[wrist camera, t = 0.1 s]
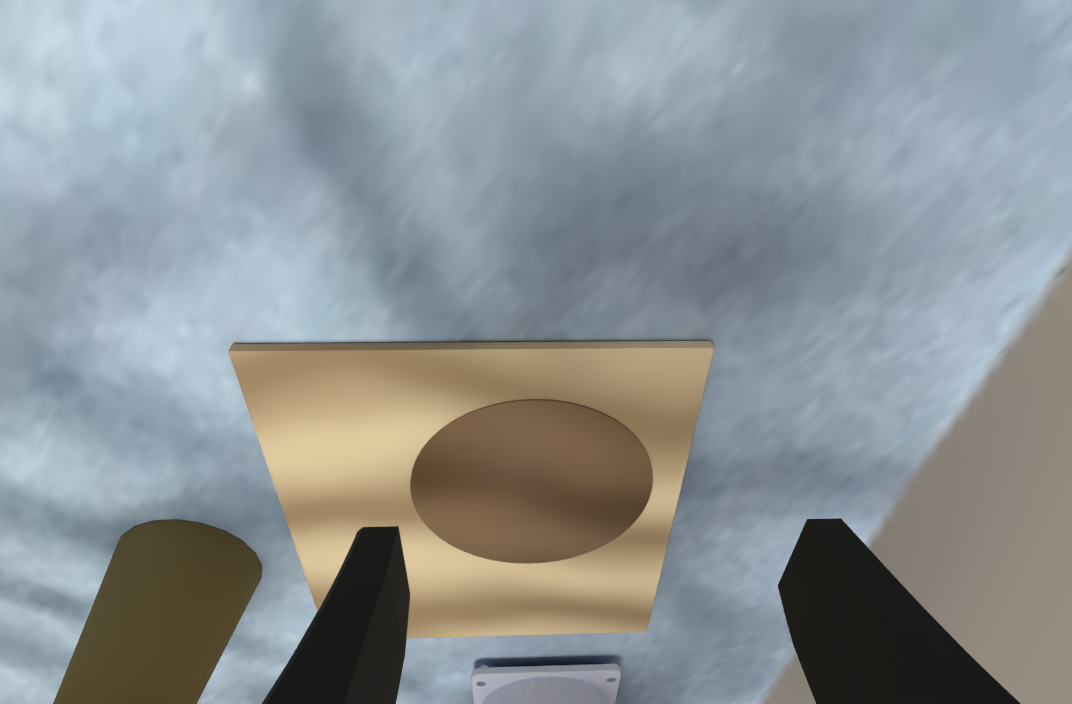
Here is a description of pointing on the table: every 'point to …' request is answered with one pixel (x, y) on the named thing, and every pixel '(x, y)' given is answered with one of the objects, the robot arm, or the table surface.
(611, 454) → the mat
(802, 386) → the table surface
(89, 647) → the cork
